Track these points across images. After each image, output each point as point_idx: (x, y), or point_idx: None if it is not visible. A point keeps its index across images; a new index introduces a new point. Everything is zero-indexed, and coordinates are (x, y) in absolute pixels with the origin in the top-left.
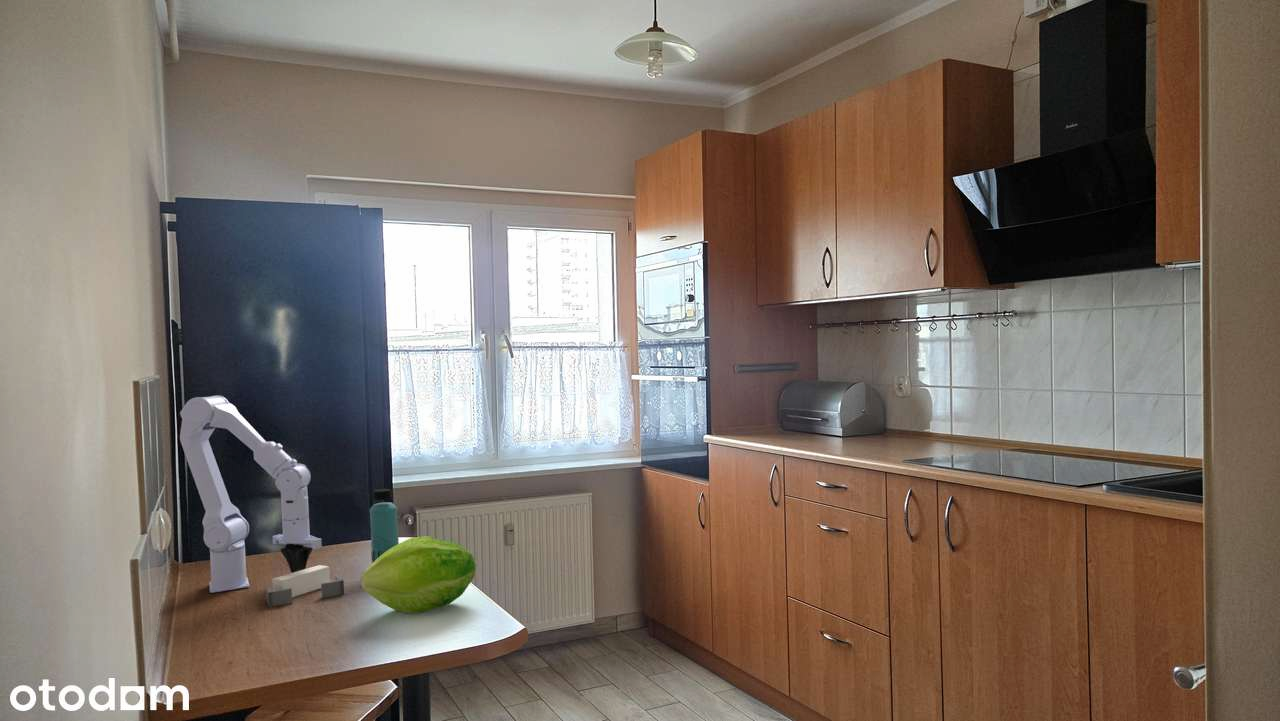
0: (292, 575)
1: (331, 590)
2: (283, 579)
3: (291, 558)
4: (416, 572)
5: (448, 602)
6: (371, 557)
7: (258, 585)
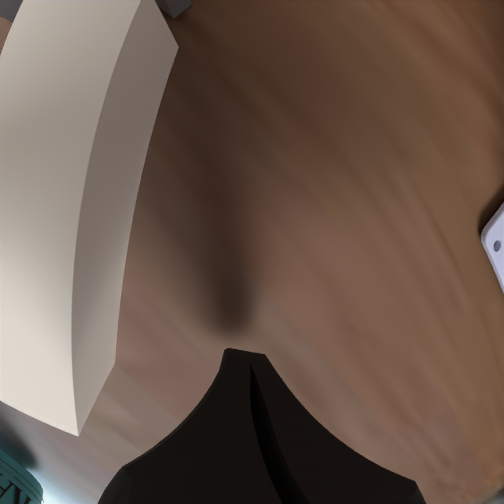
0: (18, 122)
1: None
2: (28, 5)
3: (240, 442)
4: None
5: None
6: (4, 491)
7: (455, 282)
